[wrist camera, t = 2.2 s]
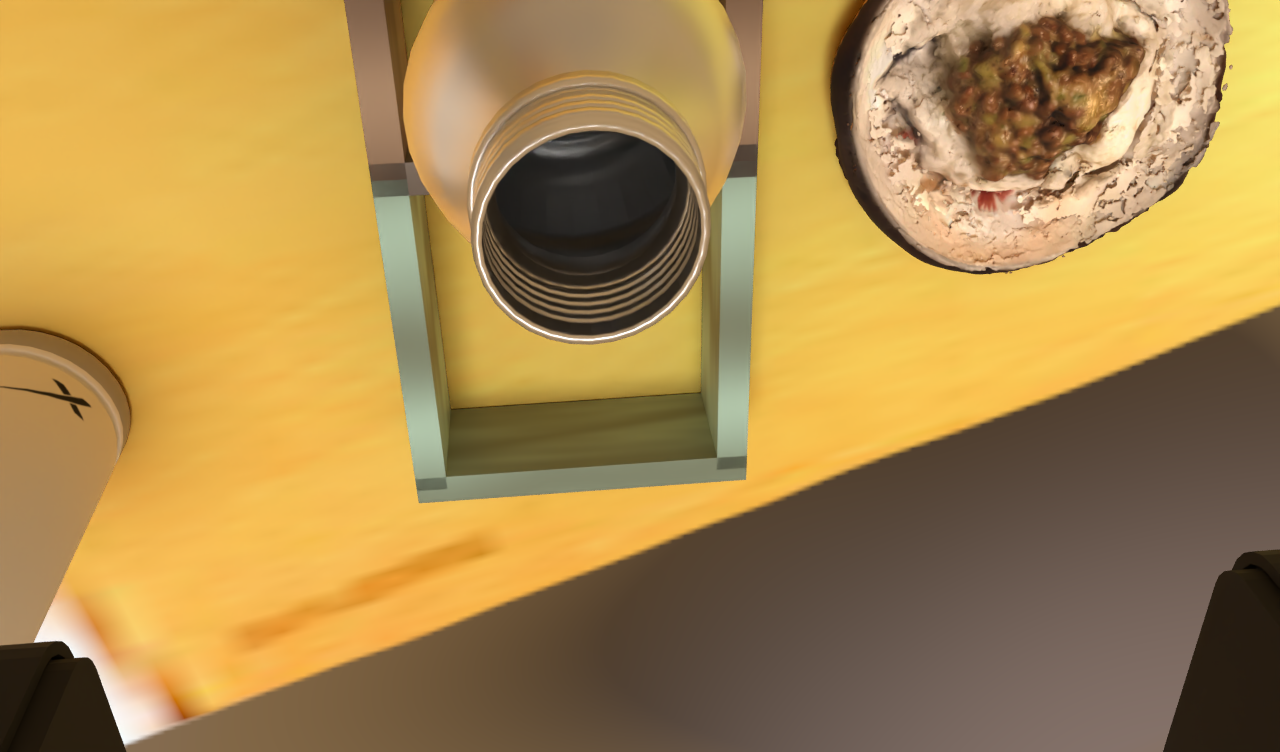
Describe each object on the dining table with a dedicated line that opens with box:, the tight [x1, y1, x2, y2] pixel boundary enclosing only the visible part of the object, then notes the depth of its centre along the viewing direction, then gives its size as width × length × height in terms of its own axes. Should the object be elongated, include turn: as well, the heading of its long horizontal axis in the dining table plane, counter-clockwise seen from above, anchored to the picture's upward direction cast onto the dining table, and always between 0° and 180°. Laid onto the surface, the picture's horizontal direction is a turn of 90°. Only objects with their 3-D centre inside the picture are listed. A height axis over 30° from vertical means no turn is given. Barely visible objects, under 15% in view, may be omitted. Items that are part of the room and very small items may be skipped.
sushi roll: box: [830, 0, 1233, 274], centre depth 37 cm, size 15×15×4 cm
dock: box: [344, 0, 763, 503], centre depth 36 cm, size 23×11×4 cm, turn 1°
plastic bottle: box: [403, 0, 747, 344], centre depth 26 cm, size 6×7×20 cm
